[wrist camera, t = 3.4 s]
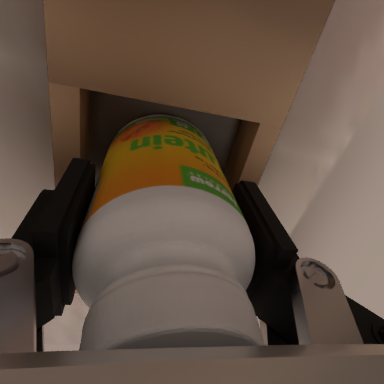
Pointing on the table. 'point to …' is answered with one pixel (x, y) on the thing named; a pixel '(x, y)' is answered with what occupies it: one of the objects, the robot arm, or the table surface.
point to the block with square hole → (181, 65)
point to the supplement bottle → (164, 246)
